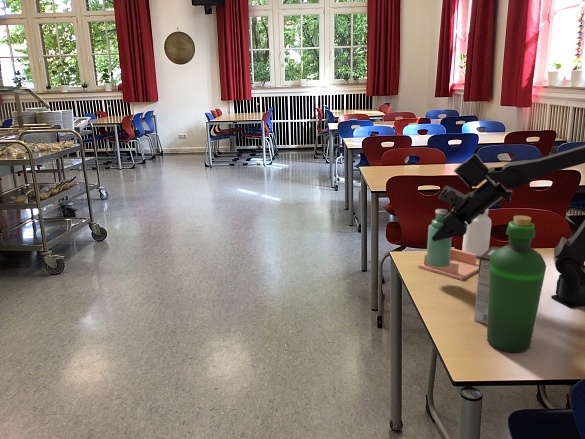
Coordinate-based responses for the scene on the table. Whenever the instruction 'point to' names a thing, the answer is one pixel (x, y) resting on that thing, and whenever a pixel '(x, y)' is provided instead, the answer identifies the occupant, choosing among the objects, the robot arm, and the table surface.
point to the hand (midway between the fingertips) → (434, 236)
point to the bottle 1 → (438, 243)
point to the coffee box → (483, 287)
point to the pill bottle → (478, 235)
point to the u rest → (455, 265)
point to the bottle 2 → (514, 288)
